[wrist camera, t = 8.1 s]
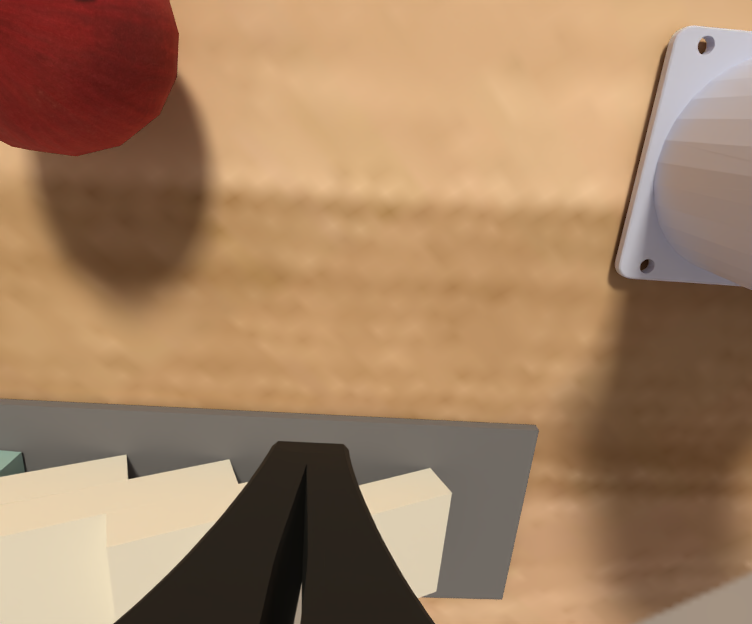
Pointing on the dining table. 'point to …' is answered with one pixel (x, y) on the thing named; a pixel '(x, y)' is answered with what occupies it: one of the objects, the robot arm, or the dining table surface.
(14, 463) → the domino
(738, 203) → the robot arm
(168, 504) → the domino
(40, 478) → the domino
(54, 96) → the onion
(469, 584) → the runner mat
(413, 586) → the domino
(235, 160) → the dining table surface
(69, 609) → the domino
